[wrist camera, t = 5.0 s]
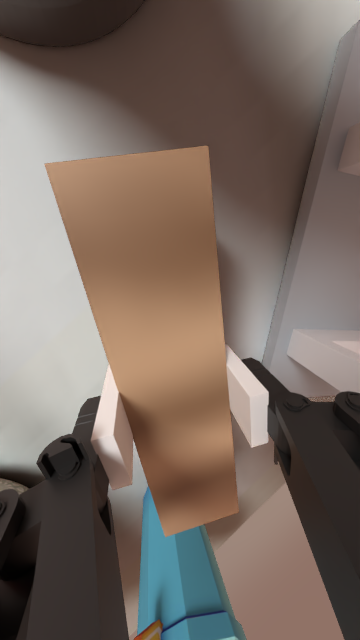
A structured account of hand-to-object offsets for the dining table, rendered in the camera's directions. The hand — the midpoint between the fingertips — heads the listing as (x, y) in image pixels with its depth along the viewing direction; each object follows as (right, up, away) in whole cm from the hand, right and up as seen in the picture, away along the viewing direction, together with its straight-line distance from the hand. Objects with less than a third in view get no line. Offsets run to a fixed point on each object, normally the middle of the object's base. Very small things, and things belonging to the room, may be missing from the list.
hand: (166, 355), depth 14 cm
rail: (0, 0, +1) cm, 1 cm away
